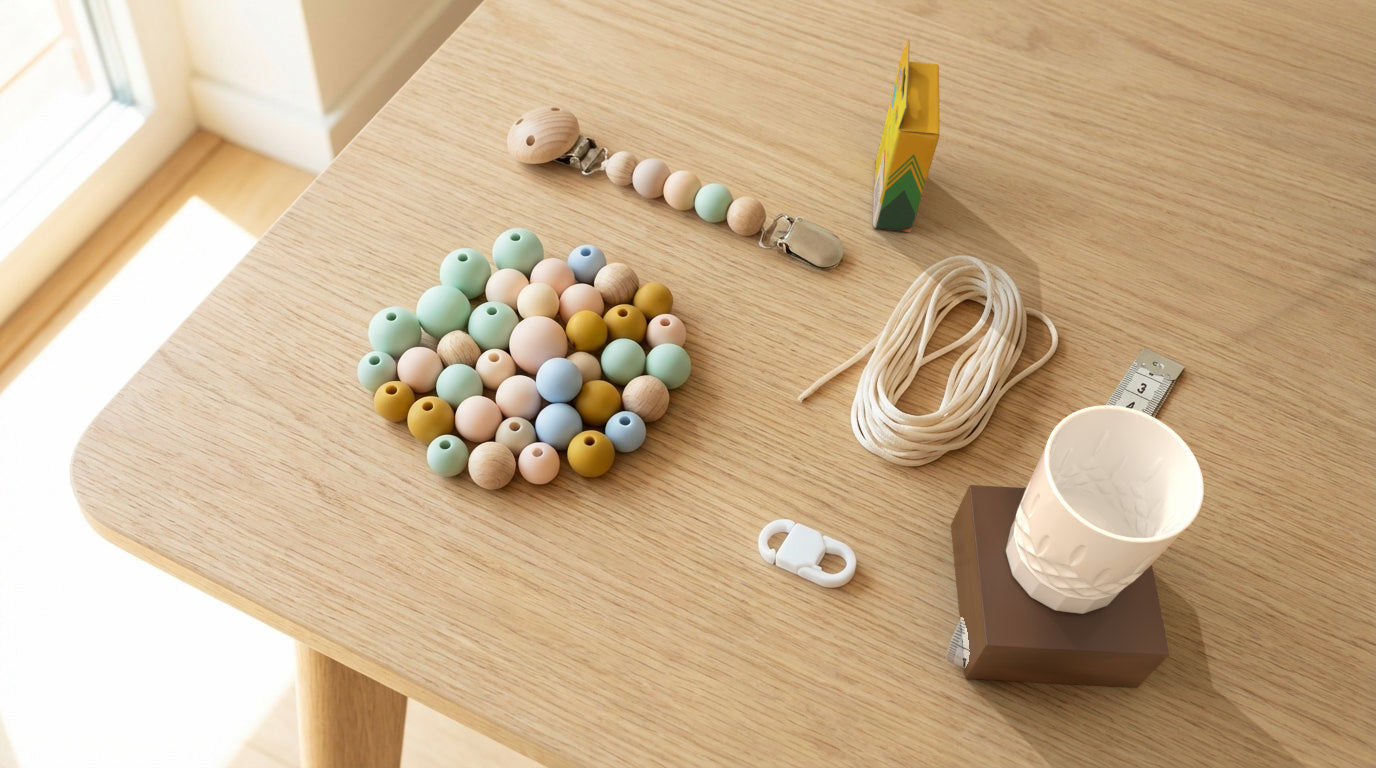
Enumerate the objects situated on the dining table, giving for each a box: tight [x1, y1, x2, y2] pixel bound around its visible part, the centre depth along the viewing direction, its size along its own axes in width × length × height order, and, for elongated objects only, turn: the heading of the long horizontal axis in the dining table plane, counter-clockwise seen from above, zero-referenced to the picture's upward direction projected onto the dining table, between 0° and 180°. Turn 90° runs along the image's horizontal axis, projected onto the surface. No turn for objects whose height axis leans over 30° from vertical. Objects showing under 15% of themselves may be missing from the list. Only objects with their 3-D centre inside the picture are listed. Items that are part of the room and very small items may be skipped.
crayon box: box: [872, 38, 940, 233], centre depth 86 cm, size 7×3×12 cm, turn 173°
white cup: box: [1006, 404, 1205, 614], centre depth 65 cm, size 8×8×10 cm
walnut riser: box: [950, 484, 1170, 689], centre depth 71 cm, size 10×10×5 cm
